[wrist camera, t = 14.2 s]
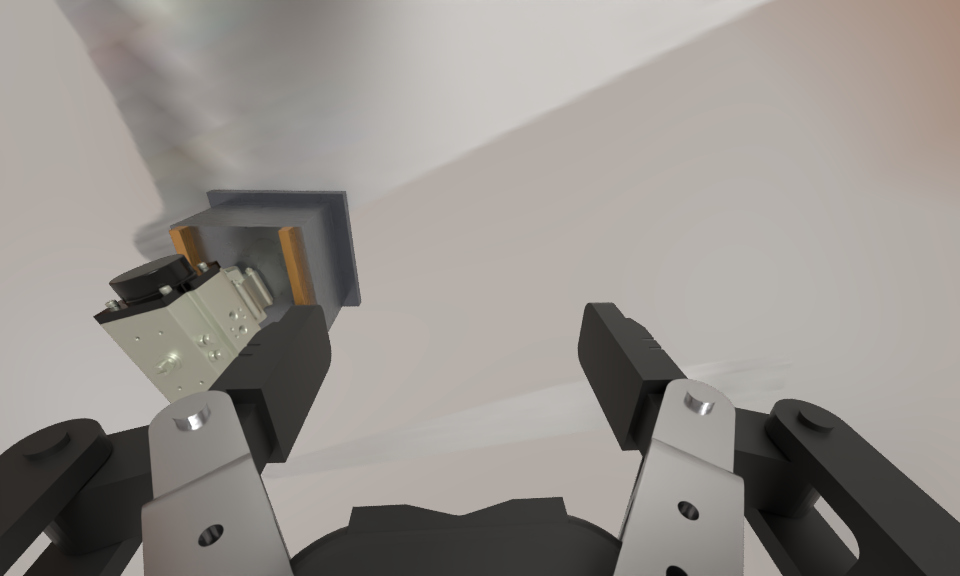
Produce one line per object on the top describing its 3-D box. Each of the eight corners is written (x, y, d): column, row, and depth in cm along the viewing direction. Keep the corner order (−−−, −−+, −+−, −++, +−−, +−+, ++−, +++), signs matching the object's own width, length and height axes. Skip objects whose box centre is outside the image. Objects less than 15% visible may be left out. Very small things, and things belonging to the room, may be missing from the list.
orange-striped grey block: (213, 189, 39) (135, 218, 30) (345, 191, 40) (312, 219, 31) (250, 312, 46) (197, 367, 37) (362, 310, 47) (339, 364, 38)
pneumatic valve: (259, 342, 37) (181, 439, 27) (189, 238, 32) (57, 306, 21) (309, 329, 37) (251, 422, 26) (248, 221, 32) (143, 283, 21)
